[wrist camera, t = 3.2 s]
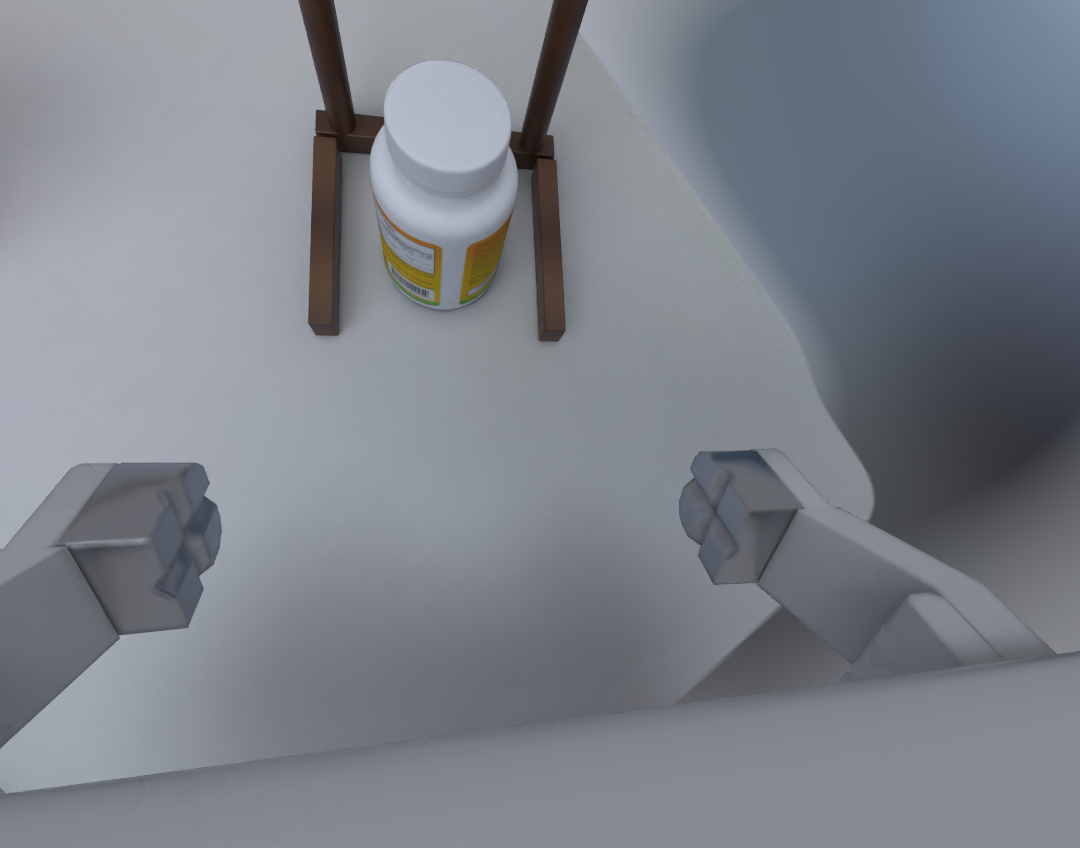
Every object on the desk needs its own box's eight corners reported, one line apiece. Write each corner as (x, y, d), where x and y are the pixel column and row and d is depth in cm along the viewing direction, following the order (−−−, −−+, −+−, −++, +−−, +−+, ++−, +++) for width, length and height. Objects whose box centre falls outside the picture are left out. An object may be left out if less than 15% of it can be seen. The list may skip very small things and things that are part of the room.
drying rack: (558, 341, 26) (696, 156, 13) (315, 335, 24) (168, 99, 10) (548, 151, 28) (660, -189, 15) (320, 127, 26) (201, -307, 12)
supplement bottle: (488, 208, 27) (522, 42, 17) (502, 309, 26) (545, 191, 17) (378, 210, 25) (350, 32, 16) (390, 315, 25) (367, 193, 15)
